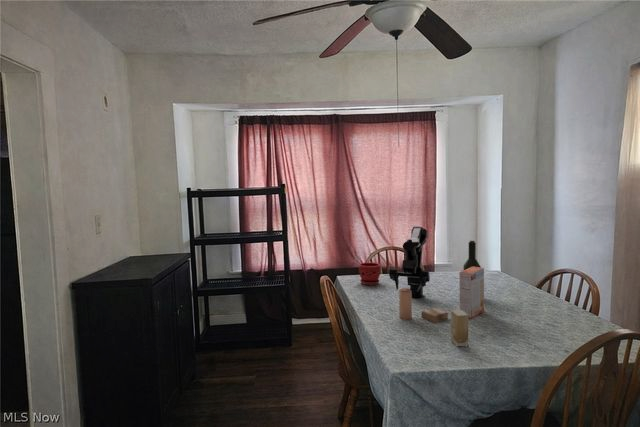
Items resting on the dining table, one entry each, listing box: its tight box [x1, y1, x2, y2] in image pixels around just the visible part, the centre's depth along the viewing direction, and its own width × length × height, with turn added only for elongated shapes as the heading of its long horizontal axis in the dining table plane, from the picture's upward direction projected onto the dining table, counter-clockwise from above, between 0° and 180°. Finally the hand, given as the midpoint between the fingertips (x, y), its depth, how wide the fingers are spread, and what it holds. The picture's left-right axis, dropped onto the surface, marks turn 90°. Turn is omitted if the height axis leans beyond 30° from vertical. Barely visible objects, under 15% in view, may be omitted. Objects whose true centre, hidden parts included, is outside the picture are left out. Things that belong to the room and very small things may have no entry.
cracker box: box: [459, 267, 485, 320], centre depth 174 cm, size 14×6×21 cm, turn 134°
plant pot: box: [358, 262, 382, 286], centre depth 233 cm, size 13×13×12 cm
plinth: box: [421, 307, 449, 323], centre depth 171 cm, size 8×8×3 cm
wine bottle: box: [463, 240, 482, 270], centre depth 198 cm, size 8×8×30 cm
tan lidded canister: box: [398, 287, 413, 321], centre depth 172 cm, size 6×6×13 cm
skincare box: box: [450, 309, 470, 347], centre depth 143 cm, size 6×4×12 cm
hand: (407, 290), depth 176 cm, fingers open, 9 cm apart
